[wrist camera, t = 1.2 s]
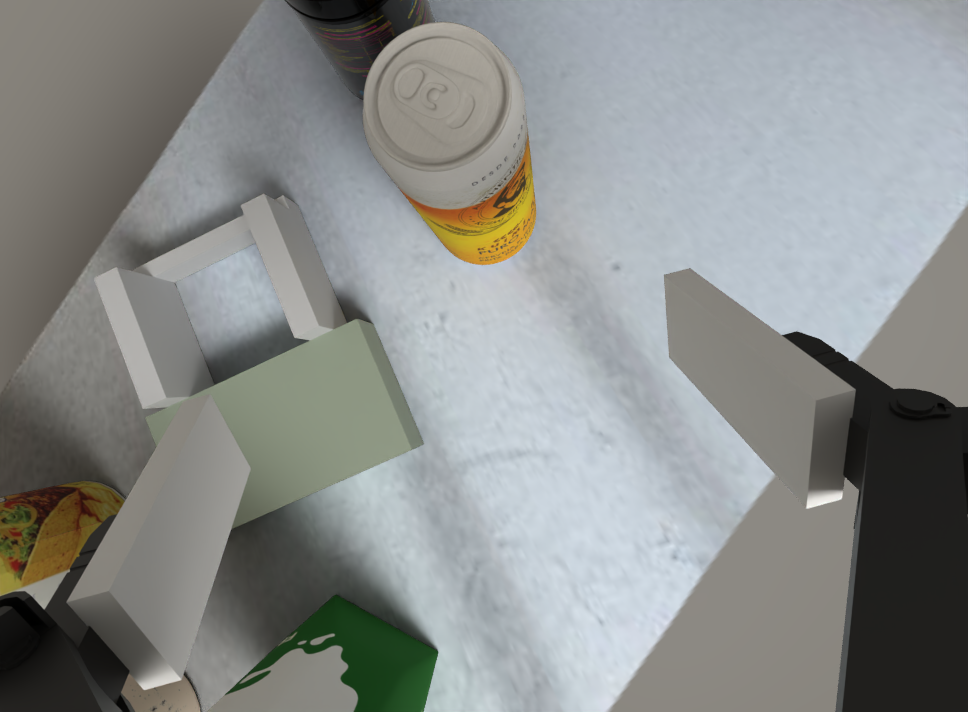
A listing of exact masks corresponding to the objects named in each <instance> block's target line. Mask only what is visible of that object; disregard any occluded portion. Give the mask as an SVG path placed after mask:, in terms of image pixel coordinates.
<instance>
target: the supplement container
mask: <svg viewBox="0 0 968 712" xmlns="http://www.w3.org/2000/svg"><path fill="white" fill-rule="evenodd" d="M285 1H286V3H287V4H288V5H289V6H290V7H291V8H292V9H293V11H294V12H295V13H296V15H297V16H298V18H299V19H300V21H301V22H302V24H303V25H304V26H305V28H306V29H307V31H308V32H309V34H310V35H311V36H312V38H313V39H314V41H315V42H316V44H317V45H318V46H319V48H320V49H321V51H322V52H323V54H324V55H325V56H326V58H327V59H328V61H329V62H330V64H331V65H332V66H333V68H334V69H335V71H336V72H337V74H338V75H339V76H340V78H341V79H342V81H343V82H344V84H345V85H346V86H347V88H348V89H349V90H350V91H351V92H352V93H353V94H354V95H356V96H357V97H359V98H360V99H362V100H364V89H365V83H366V80H367V76H368V74H369V71H370V69H371V67H372V65H373V63H374V61H375V60H376V58H377V57H378V55H379V54H380V53H381V51H382V50H383V49H384V48H385V47H386V46H387V45H388V44H389V43H390V42H391V41H392V40H393V39H395V38H396V37H397V36H399V35H400V34H402V33H404V32H405V31H407V30H410V29H412V28H414V27H417V26H420V25H423V24H428V23H435V21H434V18H433V15H432V12H431V9H430V6H429V3H428V0H285Z"/></svg>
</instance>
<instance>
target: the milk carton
mask: <svg viewBox="0 0 968 712" xmlns="http://www.w3.org/2000/svg"><path fill="white" fill-rule="evenodd" d="M437 656H438V651H437V650H435V649H433V648H431V647H429V646H428V645H426V644H424V643H422V642H420V641H419V640H417V639H415V638H413V637H411V636H410V635H408V634H406V633H404V632H402V631H401V630H399V629H397V628H395V627H393V626H392V625H390V624H388V623H386V622H384V621H383V620H381V619H379V618H377V617H375V616H374V615H372V614H370V613H368V612H366V611H365V610H363V609H361V608H359V607H357V606H356V605H354V604H352V603H350V602H348V601H347V600H345V599H343V598H341V597H340V596H338V595H334V596H333V597H332V598H331V599H330V600H329V601H328V602H327V603H325V604H324V605H323V606H322V607H321V608H320V609H319V610H317V611H316V612H315V613H314V614H313V615H312V616H311V617H310V618H308V619H307V620H306V621H305V622H304V623H303V624H302V625H300V626H299V627H298V628H297V629H296V630H295V631H294V632H292V633H291V634H290V635H289V636H288V637H287V638H286V639H284V640H283V641H282V642H281V643H280V644H279V645H278V646H277V647H276V648H275V649H273V650H272V651H271V652H270V653H269V654H268V655H267V656H266V657H265V658H264V659H263V660H262V661H260V662H259V663H258V664H257V665H256V666H255V667H254V668H253V669H252V670H251V671H250V672H249V673H248V674H247V675H246V676H244V677H243V678H242V679H241V680H240V681H239V682H238V683H237V684H236V685H235V686H234V687H233V688H232V689H231V690H230V691H228V692H227V693H226V694H225V695H224V696H223V697H222V698H221V699H220V700H219V701H218V702H217V703H216V704H215V705H214V706H212V707H211V708H210V709H209V710H208V711H207V712H424V708H425V704H426V700H427V696H428V692H429V688H430V684H431V680H432V676H433V672H434V668H435V664H436V660H437Z"/></svg>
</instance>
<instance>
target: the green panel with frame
mask: <svg viewBox="0 0 968 712" xmlns="http://www.w3.org/2000/svg"><path fill="white" fill-rule="evenodd" d="M241 208H242V210H243V213H244V215H242V216H240V217H238V218H236V219H234V220H232V221H230V222H228V223H226V224H224V225H222V226H220V227H218V228H216V229H214V230H212V231H210V232H208V233H206V234H204V235H202V236H200V237H198V238H196V239H194V240H192V241H190V242H188V243H186V244H184V245H182V246H180V247H178V248H176V249H173V250H171V251H169V252H167V253H165V254H163V255H161V256H159V257H157V258H155V259H153V260H151V261H149V262H147V263H145V264H143V265H141V266H139V267H137V268H135V269H133V270H131V271H130V270H126V269H122V268H118V267H115V268H113V269H111V270H109V271H107V272H105V273H103V274H101V275H99V276H97V277H95V278H94V280H95V283H96V285H97V288H98V291H99V293H100V296H101V299H102V301H103V304H104V307H105V309H106V312H107V315H108V317H109V320H110V323H111V325H112V328H113V331H114V333H115V336H116V339H117V341H118V344H119V347H120V349H121V352H122V354H123V357H124V360H125V362H126V365H127V368H128V370H129V373H130V376H131V378H132V381H133V384H134V386H135V389H136V392H137V394H138V397H139V400H140V402H141V405H142V408H143V409H148V408H165V407H167V408H165V409H163V410H160V411H158V412H156V413H154V414H152V415H150V416H148V417H145V418H146V421H147V424H148V426H149V429H150V432H151V434H152V437H153V440H154V442H155V445H156V447H157V445H158V444H159V442H160V440H161V439H162V437H163V435H164V433H165V432H166V430H167V428H168V426H169V425H170V423H171V421H172V420H173V418H174V416H175V414H176V413H177V411H178V409H179V408H180V406H181V404H182V402H183V401H186V400H189V399H193V398H197V397H201V396H205V395H209V394H211V396H212V398H213V400H214V402H215V404H216V405H217V407H218V409H219V411H220V413H221V415H222V416H223V418H224V420H225V422H226V424H227V426H228V428H229V429H230V431H231V433H232V435H233V437H234V439H235V440H236V442H237V444H238V446H239V448H240V450H241V451H242V453H243V455H244V457H245V459H246V461H247V462H248V464H249V466H250V468H251V470H250V473H249V476H248V479H247V482H246V485H245V488H244V491H243V494H242V497H241V500H240V504H239V507H238V510H237V513H236V516H235V519H234V522H233V525H232V528H231V529H233V528H235V527H238V526H240V525H242V524H244V523H247V522H249V521H251V520H254V519H256V518H258V517H260V516H263V515H265V514H267V513H269V512H272V511H274V510H276V509H278V508H281V507H283V506H285V505H288V504H290V503H292V502H294V501H297V500H299V499H301V498H303V497H306V496H308V495H310V494H313V493H315V492H317V491H319V490H322V489H324V488H326V487H328V486H331V485H333V484H335V483H338V482H340V481H342V480H344V479H347V478H349V477H351V476H353V475H356V474H358V473H360V472H363V471H365V470H367V469H369V468H372V467H374V466H376V465H378V464H381V463H383V462H385V461H388V460H390V459H392V458H394V457H397V456H399V455H401V454H403V453H406V452H408V451H410V450H412V449H415V448H417V447H419V446H421V445H423V444H424V443H423V440H422V438H421V435H420V433H419V431H418V428H417V426H416V424H415V421H414V419H413V417H412V414H411V412H410V409H409V407H408V405H407V402H406V400H405V398H404V395H403V393H402V391H401V388H400V386H399V383H398V381H397V379H396V376H395V374H394V372H393V369H392V367H391V365H390V362H389V360H388V357H387V355H386V353H385V350H384V348H383V346H382V343H381V341H380V339H379V336H378V334H377V331H376V329H375V327H374V324H372V323H369V322H366V321H363V320H360V319H355V320H353V321H351V322H349V323H347V321H346V319H345V317H344V314H343V312H342V309H341V307H340V305H339V302H338V300H337V298H336V295H335V293H334V290H333V288H332V286H331V283H330V281H329V278H328V276H327V274H326V271H325V269H324V266H323V264H322V262H321V259H320V257H319V255H318V252H317V250H316V247H315V245H314V243H313V240H312V238H311V235H310V233H309V231H308V228H307V226H306V223H305V221H304V219H303V216H302V214H301V212H300V209H299V207H298V205H297V204H295V203H294V202H292V201H291V200H290V199H288V198H287V197H285V196H284V195H282V196H280V197H278V198H276V199H272V198H271V197H269V196H268V195H266V194H265V193H264V194H262V195H260V196H258V197H256V198H254V199H252V200H250V201H248V202H246V203H244V204H242V205H241ZM255 243H256V245H257V247H258V250H259V252H260V255H261V257H262V259H263V262H264V264H265V267H266V269H267V272H268V274H269V277H270V279H271V281H272V284H273V286H274V289H275V291H276V294H277V296H278V299H279V301H280V304H281V306H282V308H283V311H284V313H285V316H286V318H287V321H288V323H289V326H290V328H291V331H292V333H293V335H294V338H299V339H305V340H310V341H308V342H306V343H304V344H302V345H299V346H297V347H295V348H293V349H291V350H289V351H287V352H284V353H282V354H280V355H278V356H276V357H274V358H272V359H269V360H267V361H265V362H263V363H261V364H259V365H257V366H254V367H252V368H250V369H248V370H246V371H244V372H242V373H240V374H237V375H235V376H233V377H231V378H229V379H227V380H225V381H222V382H220V383H218V384H216V385H214V382H213V379H212V377H211V374H210V372H209V369H208V367H207V364H206V361H205V359H204V356H203V354H202V351H201V349H200V346H199V344H198V341H197V338H196V336H195V333H194V331H193V328H192V326H191V323H190V320H189V318H188V315H187V313H186V310H185V308H184V305H183V302H182V300H181V297H180V295H179V292H178V290H177V287H176V285H175V282H177V281H179V280H181V279H183V278H185V277H187V276H189V275H191V274H193V273H195V272H197V271H199V270H202V269H204V268H206V267H208V266H210V265H212V264H214V263H216V262H218V261H220V260H222V259H224V258H226V257H228V256H230V255H232V254H234V253H236V252H238V251H240V250H242V249H244V248H246V247H248V246H250V245H253V244H255Z"/></svg>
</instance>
